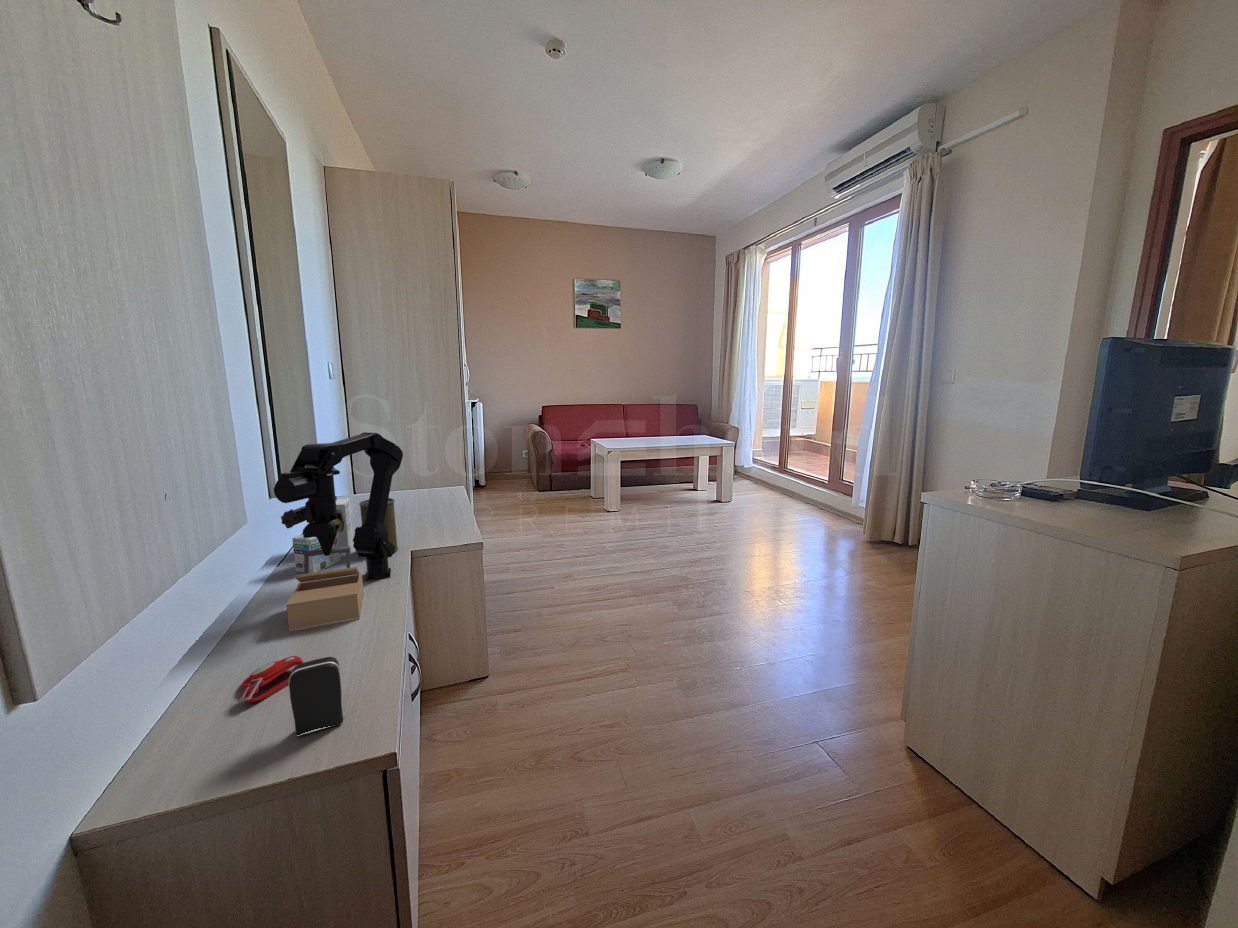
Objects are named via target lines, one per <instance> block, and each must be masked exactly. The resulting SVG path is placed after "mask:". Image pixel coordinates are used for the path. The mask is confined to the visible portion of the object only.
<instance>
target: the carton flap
mask: <svg viewBox="0 0 1238 928" xmlns="http://www.w3.org/2000/svg"><path fill="white" fill-rule="evenodd" d="M341 552H345V568H337V569H336V568H335V569H330V570H323V571H322V570H321V571H318V572H314V573H309V556H317V555H324V553H323V550H322V549H320V550H312V551H304V572H303V573H302V574H301V573H299V574H294V579H296V580H297V581H298V582H299V583H304V582H311V581H318V580H325V579H332V578H339V577H346V576H353V575H360V574H361V571H360V569H359V567H358V566H354V567H353V566H352V567H351V549H350V546H345V547H337V548H332V550H331V553H330V554H333V553H340V554H342V553H341Z"/></svg>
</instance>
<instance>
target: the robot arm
mask: <svg viewBox="0 0 1238 928" xmlns="http://www.w3.org/2000/svg"><path fill="white" fill-rule="evenodd" d="M362 451H363V452H364V453H365V454H366V456H368V457H369V466H371V469H372V471H373V476H372V483H371V488H370V492H369V498H368V499H369V503H368V508H367V514H366V519H365V522H364V523H363V525H362V524H361V526H356V527H355V529H354V534H353V543H354V544H353V545H352V547H353V548H354V550H355V552H356V554H357V556H358V558H365V564H366V572H365V577H364V580H365V581H371V580H372V581H373V580H380V579H386V578H390V577H391V571H392V570H391V569H392V568H391V567H389V558H391V557H393V555H394V554H395V553H396V552H395V546H394V545H393V544H392V543H390V542H389V541H388V532H387V529H386V527H385V525H384V521H385V515H386V509H387V504H388V498H390V497H389V496H390V492H391V486H392V480H393V476H394V475H395V473H396V472H398V470H399V469H400V467H401V464H402V461H403V457H404V453H403V450H402V449H401V447H400V446H398V445H397V444H396V443H394V442H393V441H390V440H388V439H386V438H385V437H383V436H382V435H381V434H379V433H377V432H365V431H364V432H361V433H360V434H356V435H354V436H351V437H346V438H344V439H340V440H337V441H334V442H328V443H327V442H326V443H307V444H305V445H303V446H302V447H301V450H300V452H299V453H298V456H297V458H296V460H295V461H294V463H293V465H292V467H291V468H290V471H289V472H283V473H280V479H278V480H277V481H276V483H275V485H274V487H273V493H274V496H275V498H276V499H277V500H278V501H279V502H281V503H283V504H289V503H294V502H297V501H298V502H299V501H301V500H305V499H307V501H305V504H304V506H301V507H298V508H296V509H293V508H292V509H290V510H288V511H284V512H283V515H281V516H280V519H281V524H282V525H284V526H285V528H286V529H292V528H293V527H294V526H296V525H298V524H301V523H304V522H305V521H306V523H308V524H306V526H305V527H304V528H302V534H303V537H304V538H309V537H316V538H317V539H318V541H319V543H320V546H321V548H322V550H323V553H324V555H325V556H328V555H330V553H331V550H332V547H333V544H334V541H335V538H336V535H337V532H338V529H339V527H340V525H339V524H337V525H336V523H335V522H334V521H333V520H336V519H339V520H342V519H343V516H342V511H340V510H339V509H336V500H337V499H338V498H337V495H336V488H335V480H334V478H335V477H334V476H335V475H339V474H340V473H341V471H340V470H338V468H335V466H337V465H338V464H340V463H341V462H342V461H343V459H344V458H346V457H348V456H351V455H353V454H356V453H357V454H358V453H360V452H362Z"/></svg>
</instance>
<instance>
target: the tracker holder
mask: <svg viewBox="0 0 1238 928" xmlns="http://www.w3.org/2000/svg"><path fill="white" fill-rule="evenodd" d="M301 663H304V660H303V659H302V657H300V656H297V655H291V656H287V657H285V658H283V659H280V660H276V661H275V660H274V661H272V662H268V663H266V664H264V665H262V666H261V667H259V668H257V669H256V670H254V671H253V672H252V673H251V674H249V676H247V678H246V679H244V680H243V681H242V682H241V684H240V687H241V689H242V692H241V694H240V698H239V700H238V703H242V702H243V703H255V702H258V701H261V700H263V699H266V698H268V697H270V696H271V695H273V694H275V693H277V692H278V691H279V690H281V689H283V688H284V687H287V686H289V677H288V678H286V679H285V680H283V681H281V682H279V684H276V685H275V686H274V687H271V688H270V689H268V690H266V691H264V692H263V693H262V694H260V695H258V696H256V697H253V695H255V694H257V693H258V692H259V690H260V687H264V686H266V685H267V684H269V683H270V682H272V681H273V680H275V679H277V678H278V677H280V675H282V674H284V673H285V672H286V671H288V670H290V669H291V668H293V667H295V666H297V665H298V664H301Z"/></svg>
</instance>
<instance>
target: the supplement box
mask: <svg viewBox="0 0 1238 928" xmlns="http://www.w3.org/2000/svg"><path fill="white" fill-rule="evenodd" d="M336 509H339V510H340V511H342V516H343V519H342V520H339V519H336V520H333V521H334V522H335V523H336V525H337V524H339V525H340V527H339V529H338V540H339V547H345V546H350V550H351V549H352V547H353V543H354V542H353V538H354V532H353V524H352V523H353V521H352V519H353V518H352V511H351V498H350V497H347V498H337V500H336ZM343 553H345V554H346V552H341V553H340V554H343Z"/></svg>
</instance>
